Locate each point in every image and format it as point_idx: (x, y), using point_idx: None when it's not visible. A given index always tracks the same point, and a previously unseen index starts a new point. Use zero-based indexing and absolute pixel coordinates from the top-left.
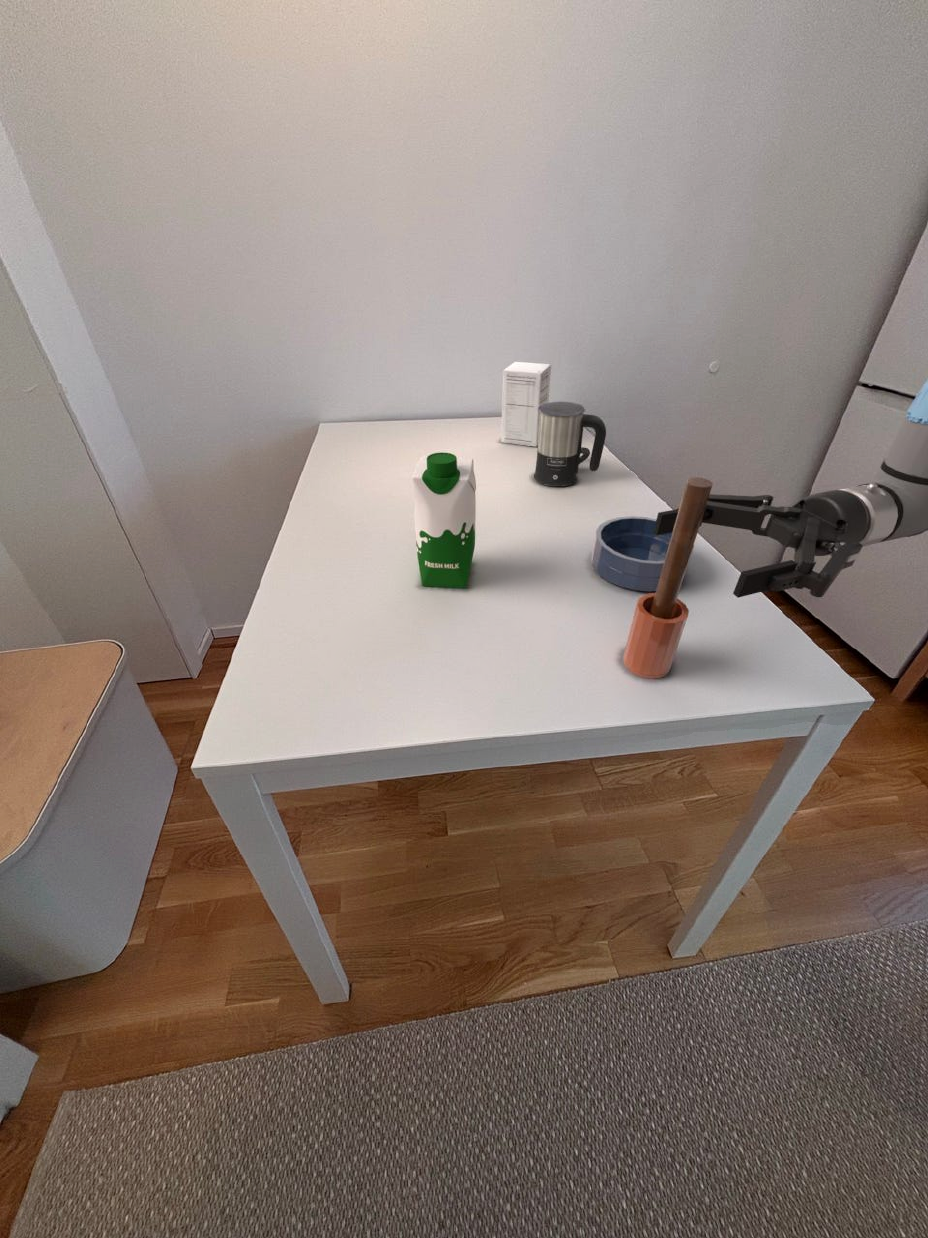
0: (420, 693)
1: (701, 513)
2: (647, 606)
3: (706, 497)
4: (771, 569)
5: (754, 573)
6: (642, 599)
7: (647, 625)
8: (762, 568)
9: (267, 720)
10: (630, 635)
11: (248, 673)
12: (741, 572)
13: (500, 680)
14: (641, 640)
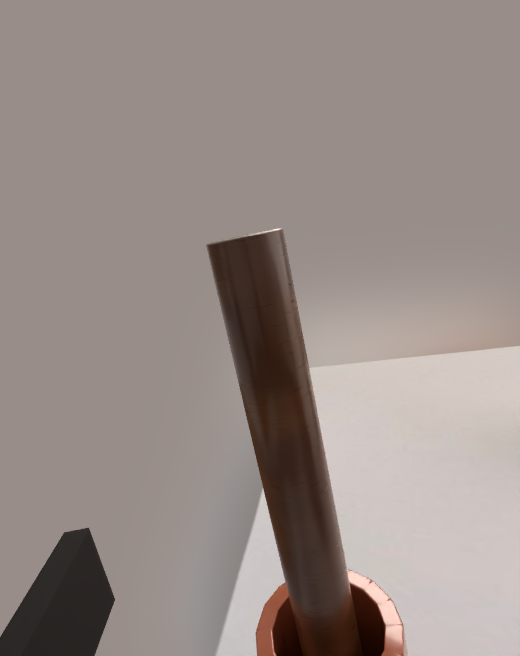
0: (336, 438)
1: (228, 335)
2: (383, 638)
3: (215, 282)
4: (3, 633)
5: (50, 559)
6: (369, 589)
7: None
8: (39, 603)
9: (325, 378)
10: None
11: (377, 363)
12: (89, 531)
13: (344, 497)
14: None
